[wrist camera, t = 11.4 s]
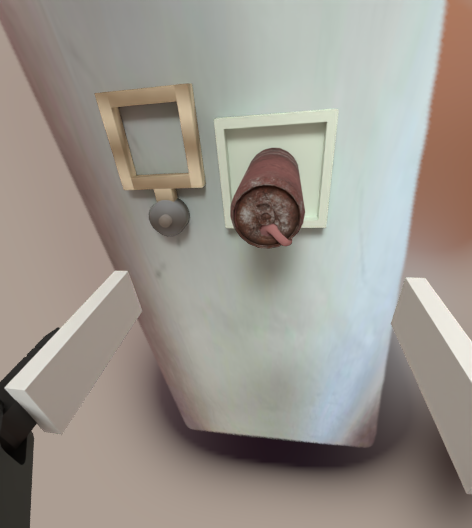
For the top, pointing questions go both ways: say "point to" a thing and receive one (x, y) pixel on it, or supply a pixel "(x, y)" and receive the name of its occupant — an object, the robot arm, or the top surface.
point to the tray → (287, 138)
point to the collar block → (168, 204)
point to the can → (269, 200)
